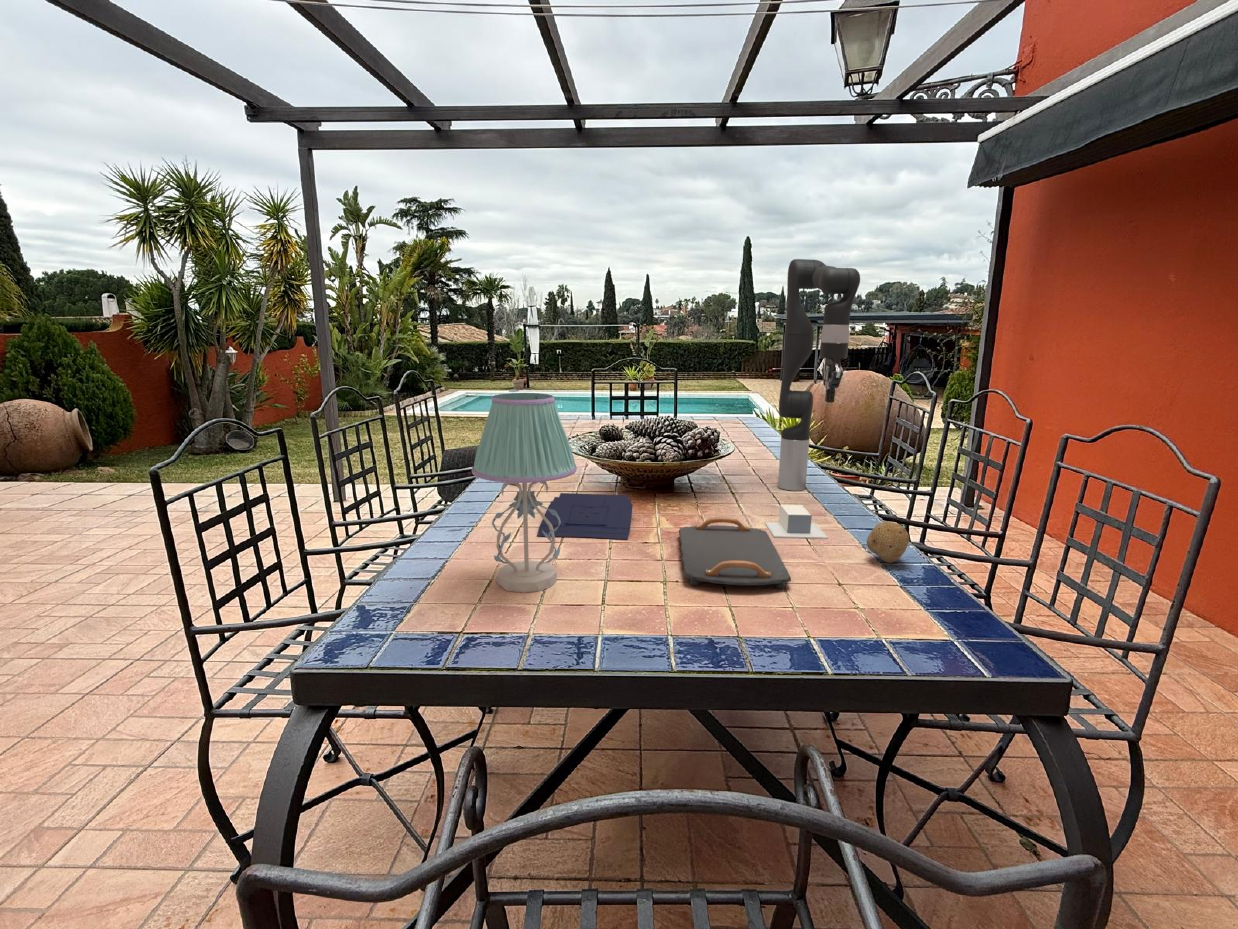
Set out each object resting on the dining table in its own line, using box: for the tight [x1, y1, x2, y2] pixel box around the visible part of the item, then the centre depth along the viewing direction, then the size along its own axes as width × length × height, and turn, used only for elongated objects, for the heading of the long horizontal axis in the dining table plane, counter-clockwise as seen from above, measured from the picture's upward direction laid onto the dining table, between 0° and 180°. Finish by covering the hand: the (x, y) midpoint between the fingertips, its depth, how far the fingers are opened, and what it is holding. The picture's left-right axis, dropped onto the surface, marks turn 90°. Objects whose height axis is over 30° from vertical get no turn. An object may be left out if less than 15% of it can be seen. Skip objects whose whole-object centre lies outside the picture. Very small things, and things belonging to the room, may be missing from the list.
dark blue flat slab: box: [536, 492, 634, 540], centre depth 180 cm, size 24×30×4 cm
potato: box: [866, 520, 910, 564], centre depth 152 cm, size 9×9×10 cm
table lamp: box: [471, 392, 578, 594], centre depth 135 cm, size 22×22×40 cm
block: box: [778, 504, 813, 533], centre depth 176 cm, size 5×6×10 cm
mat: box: [764, 521, 829, 540], centre depth 174 cm, size 12×14×1 cm
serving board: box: [678, 516, 792, 591], centre depth 152 cm, size 39×23×6 cm, turn 177°
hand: (829, 402), depth 185 cm, fingers closed
